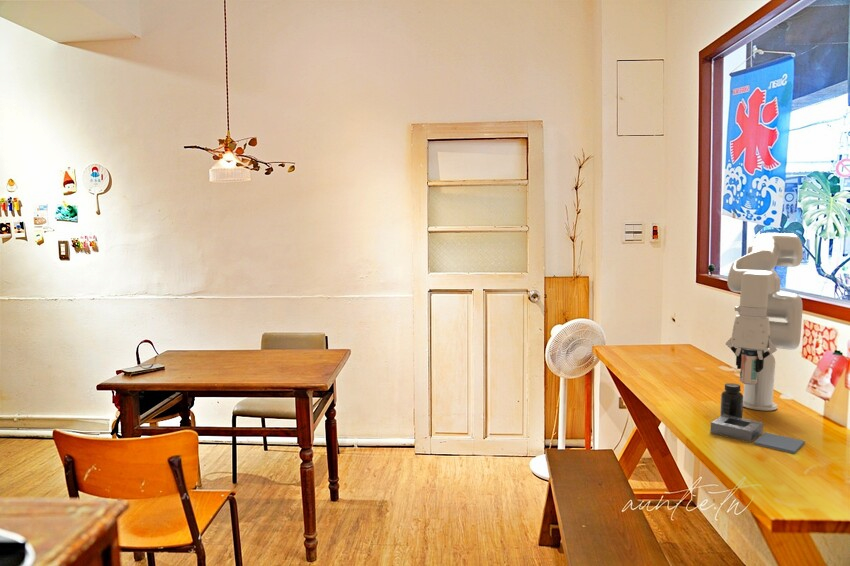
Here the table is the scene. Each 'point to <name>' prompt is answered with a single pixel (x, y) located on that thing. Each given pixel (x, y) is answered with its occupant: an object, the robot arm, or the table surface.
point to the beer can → (748, 366)
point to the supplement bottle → (732, 400)
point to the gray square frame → (736, 428)
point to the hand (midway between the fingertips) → (749, 369)
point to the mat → (779, 442)
